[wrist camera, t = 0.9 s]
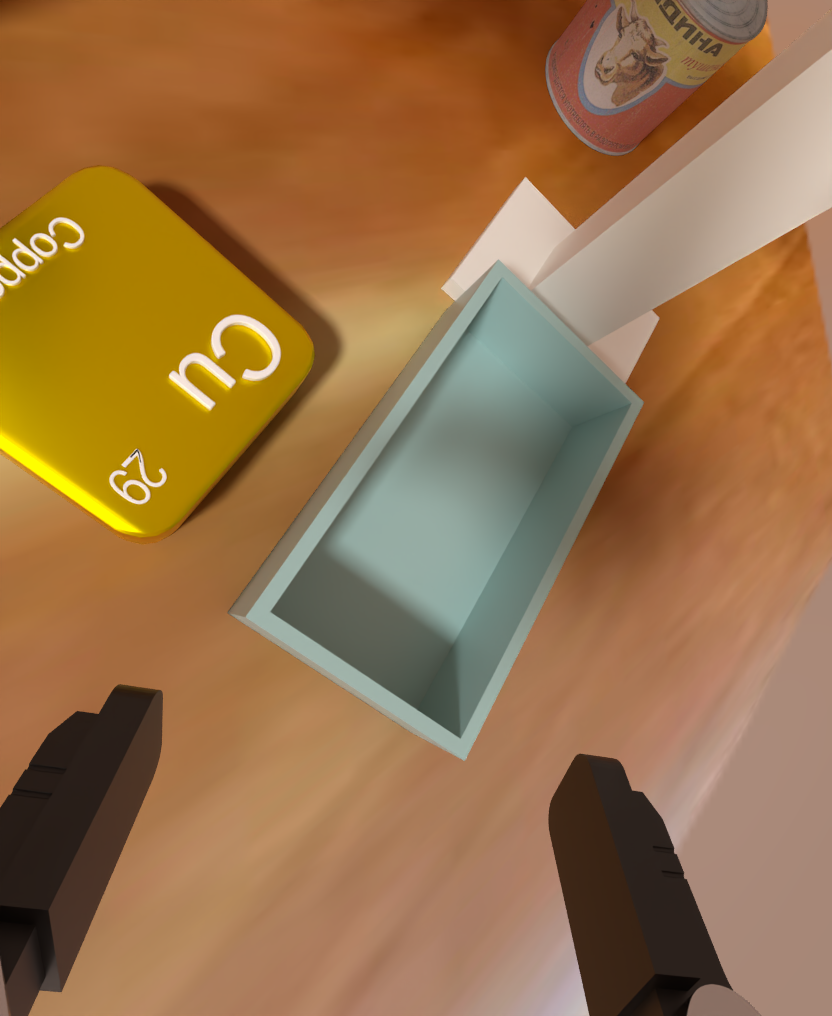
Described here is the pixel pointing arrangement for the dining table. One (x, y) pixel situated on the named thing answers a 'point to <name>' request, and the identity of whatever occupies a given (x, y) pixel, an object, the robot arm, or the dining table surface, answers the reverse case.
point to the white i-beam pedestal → (676, 209)
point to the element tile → (133, 354)
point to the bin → (448, 515)
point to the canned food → (641, 62)
